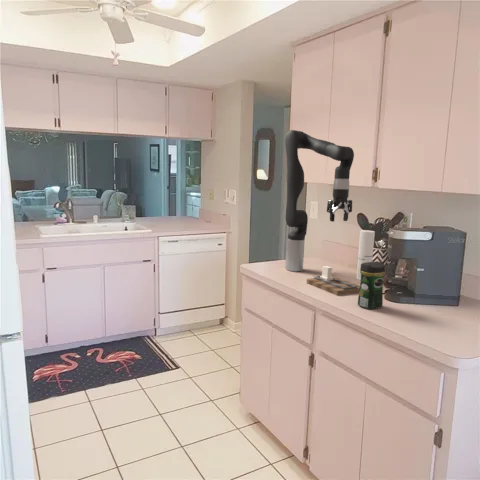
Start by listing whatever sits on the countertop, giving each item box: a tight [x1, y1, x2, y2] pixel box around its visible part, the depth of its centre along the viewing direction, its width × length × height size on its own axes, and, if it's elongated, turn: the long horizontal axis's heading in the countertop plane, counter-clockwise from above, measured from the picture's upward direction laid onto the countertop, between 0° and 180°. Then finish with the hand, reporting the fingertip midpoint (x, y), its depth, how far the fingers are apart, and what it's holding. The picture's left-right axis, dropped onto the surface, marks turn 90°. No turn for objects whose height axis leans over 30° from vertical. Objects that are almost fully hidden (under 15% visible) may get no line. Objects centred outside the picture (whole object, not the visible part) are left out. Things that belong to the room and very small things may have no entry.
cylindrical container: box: [355, 229, 376, 281], centre depth 209 cm, size 7×7×25 cm
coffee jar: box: [357, 260, 386, 310], centre depth 165 cm, size 10×8×19 cm
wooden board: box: [306, 275, 360, 296], centre depth 193 cm, size 22×16×3 cm
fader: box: [319, 265, 333, 281], centre depth 198 cm, size 5×4×6 cm
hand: (338, 221), depth 202 cm, fingers open, 8 cm apart
